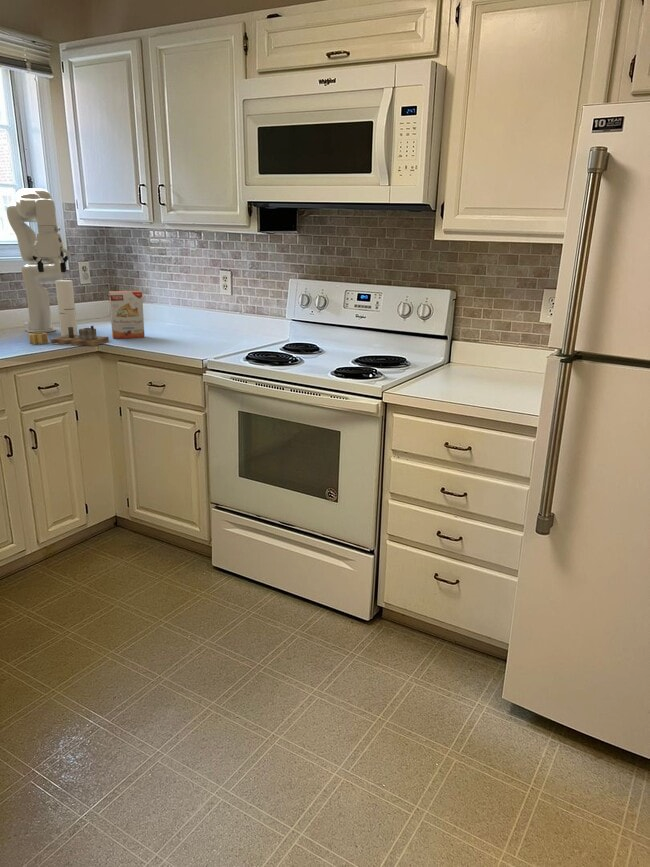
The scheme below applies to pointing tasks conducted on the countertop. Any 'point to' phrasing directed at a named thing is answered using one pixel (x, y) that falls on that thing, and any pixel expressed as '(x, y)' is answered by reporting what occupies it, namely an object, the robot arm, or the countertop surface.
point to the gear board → (77, 341)
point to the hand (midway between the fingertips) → (52, 272)
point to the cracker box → (127, 314)
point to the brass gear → (38, 338)
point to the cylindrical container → (66, 306)
